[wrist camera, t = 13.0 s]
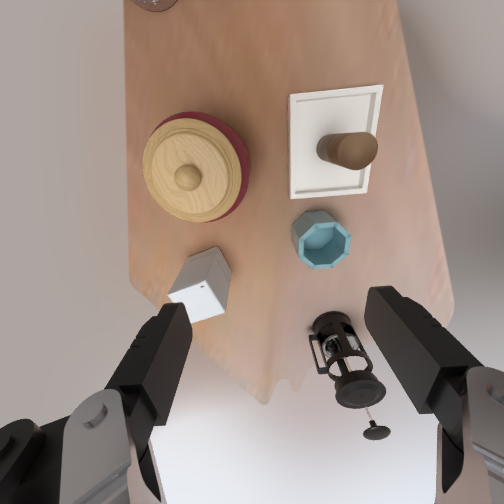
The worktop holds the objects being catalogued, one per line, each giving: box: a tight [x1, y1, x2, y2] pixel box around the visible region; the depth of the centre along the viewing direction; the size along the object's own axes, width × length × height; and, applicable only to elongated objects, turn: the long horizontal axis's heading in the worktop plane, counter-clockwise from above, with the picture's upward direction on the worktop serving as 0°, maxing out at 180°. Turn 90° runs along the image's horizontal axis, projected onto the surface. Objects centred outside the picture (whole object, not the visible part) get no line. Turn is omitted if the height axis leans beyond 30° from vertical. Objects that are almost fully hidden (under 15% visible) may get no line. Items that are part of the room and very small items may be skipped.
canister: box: [143, 112, 250, 222], centre depth 29 cm, size 13×13×18 cm
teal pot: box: [292, 210, 351, 269], centre depth 40 cm, size 9×9×7 cm
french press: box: [309, 311, 391, 440], centre depth 44 cm, size 12×9×23 cm
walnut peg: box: [316, 132, 378, 170], centre depth 30 cm, size 4×4×12 cm
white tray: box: [288, 84, 384, 199], centre depth 35 cm, size 15×13×2 cm
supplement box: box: [168, 246, 232, 323], centre depth 41 cm, size 7×7×13 cm
